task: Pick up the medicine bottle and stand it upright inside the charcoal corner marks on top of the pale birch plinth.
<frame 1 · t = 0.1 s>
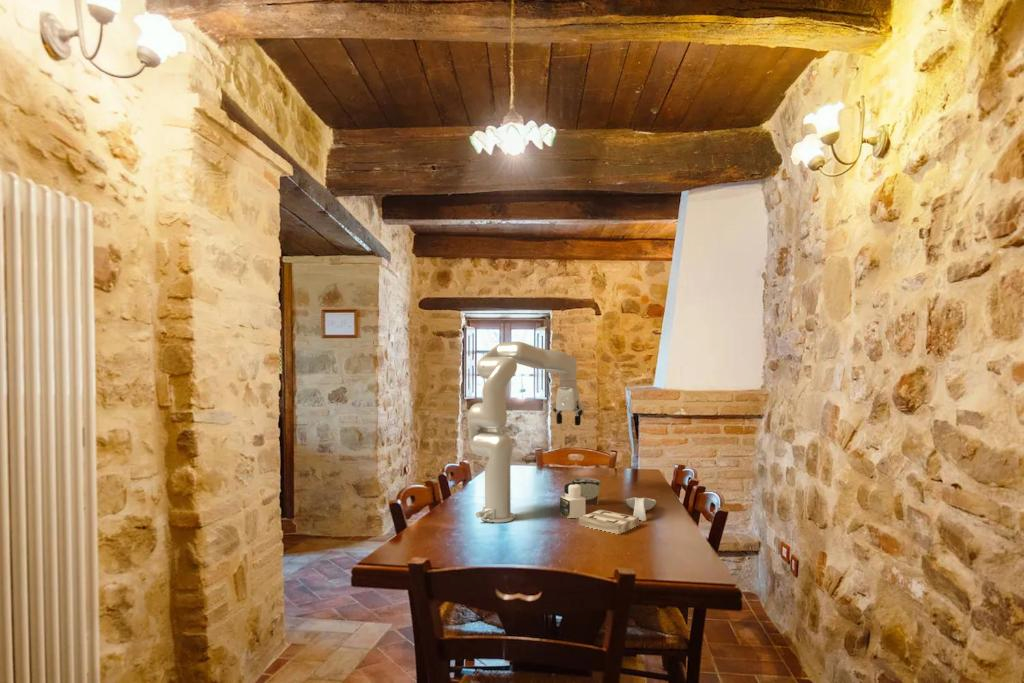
hand: (568, 424, 238), 31 cm above the table, tool pointing down, fingers open, 9 cm apart
medicine bottle: (572, 516, 206), on the table
birch plinth: (609, 525, 193), on the table
spoon rest: (640, 514, 210), on the table
food container: (585, 504, 225), on the table
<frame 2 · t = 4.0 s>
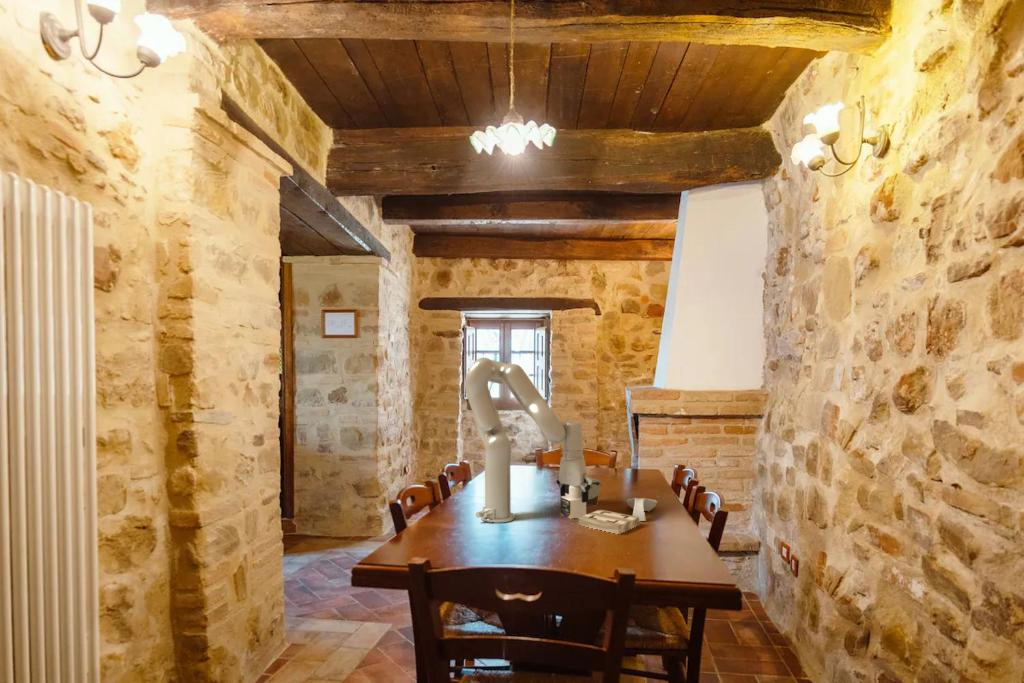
hand: (574, 499, 206), 6 cm above the table, tool pointing down, fingers open, 9 cm apart
medicine bottle: (573, 516, 206), on the table, touching gripper
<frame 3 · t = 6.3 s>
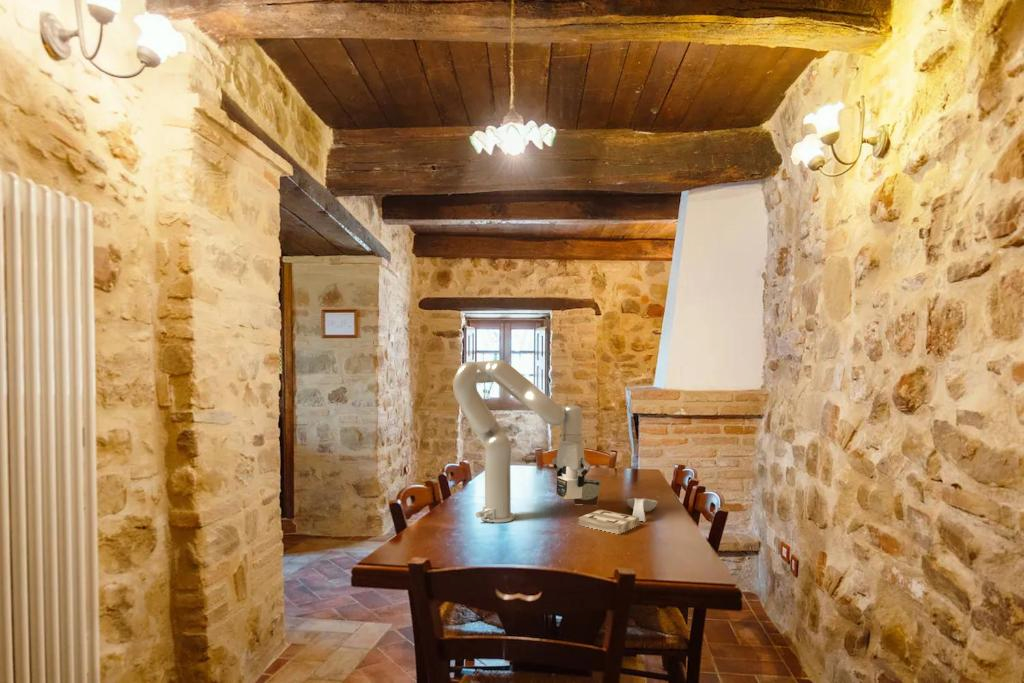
hand: (570, 484, 207), 12 cm above the table, tool pointing down, fingers closed on medicine bottle, 9 cm apart
medicine bottle: (568, 497, 206), point 7 cm above the table, touching gripper
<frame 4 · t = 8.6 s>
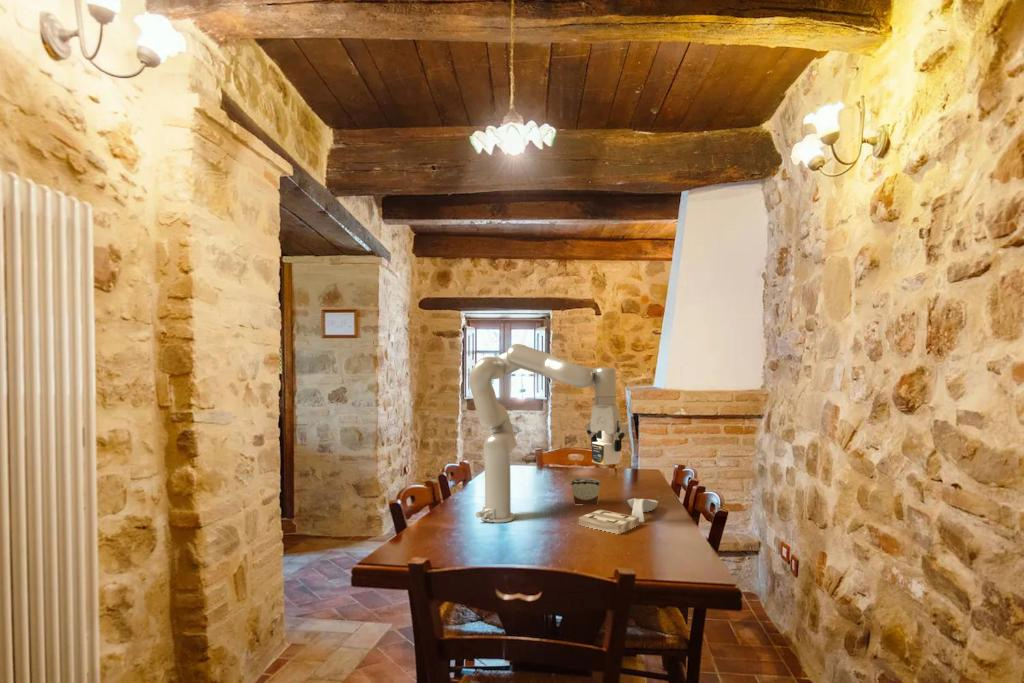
hand: (606, 449, 195), 26 cm above the table, tool pointing down, fingers closed on medicine bottle, 9 cm apart
medicine bottle: (605, 463, 195), point 22 cm above the table, touching gripper
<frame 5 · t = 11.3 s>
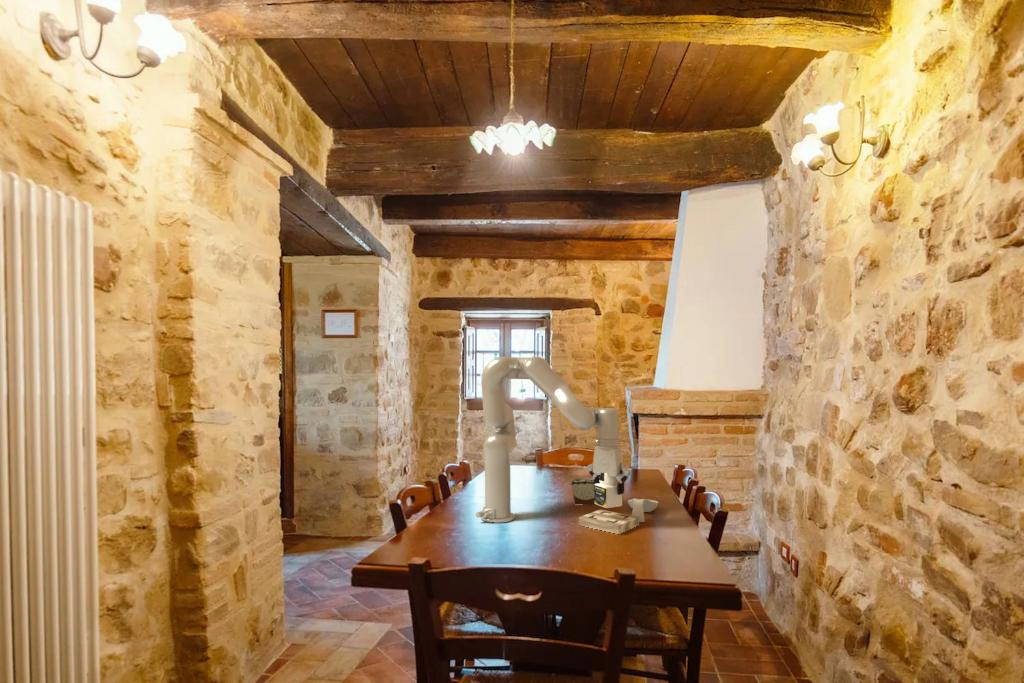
hand: (608, 491, 194), 12 cm above the table, tool pointing down, fingers closed on medicine bottle, 9 cm apart
medicine bottle: (608, 505, 194), point 7 cm above the table, touching gripper
when the fingers open (9 cm above the table, at t = 12.8 s): medicine bottle stays where it is, resting on birch plinth.
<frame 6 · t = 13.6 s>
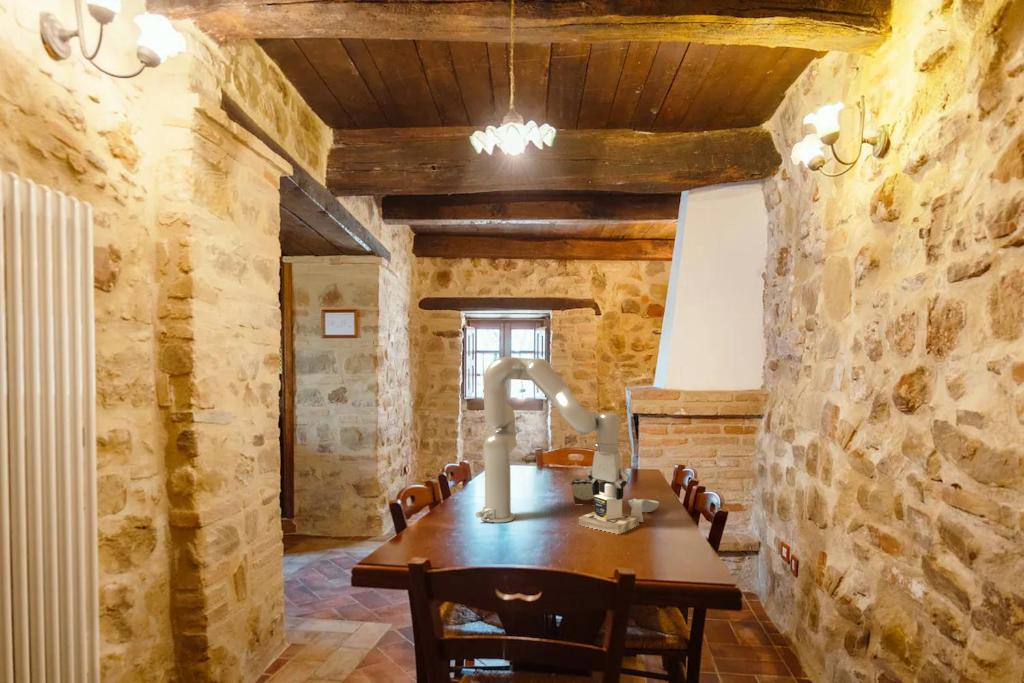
hand: (607, 496, 194), 10 cm above the table, tool pointing down, fingers open, 9 cm apart
medicine bottle: (608, 517, 193), point 3 cm above the table, touching birch plinth, gripper
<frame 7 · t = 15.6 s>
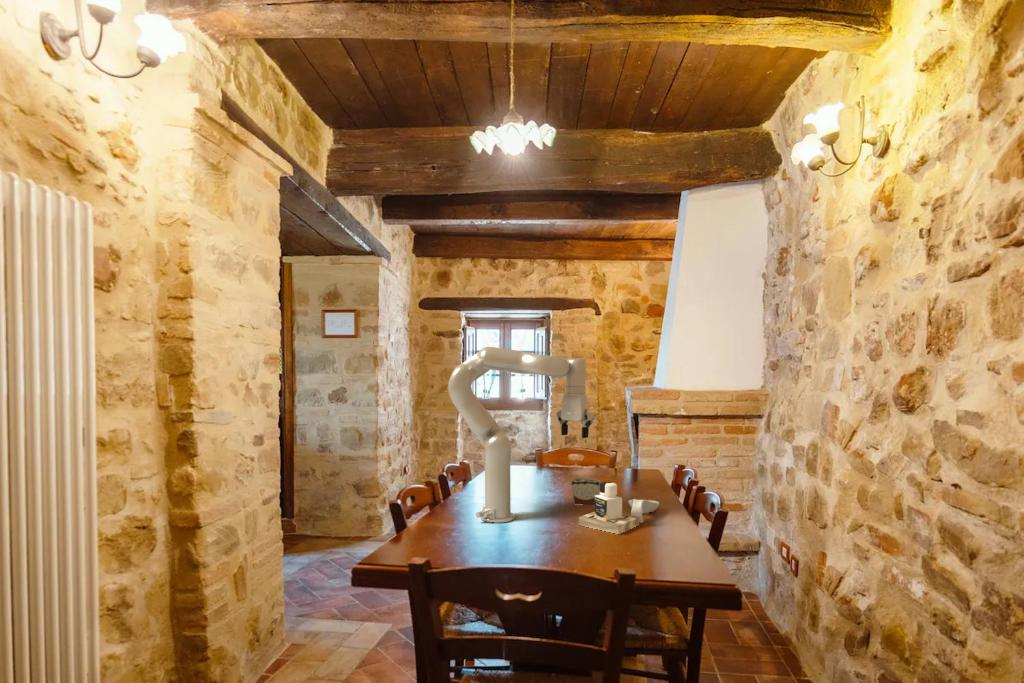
hand: (574, 436, 207), 30 cm above the table, tool pointing down, fingers open, 9 cm apart
medicine bottle: (608, 517, 193), point 3 cm above the table, touching birch plinth
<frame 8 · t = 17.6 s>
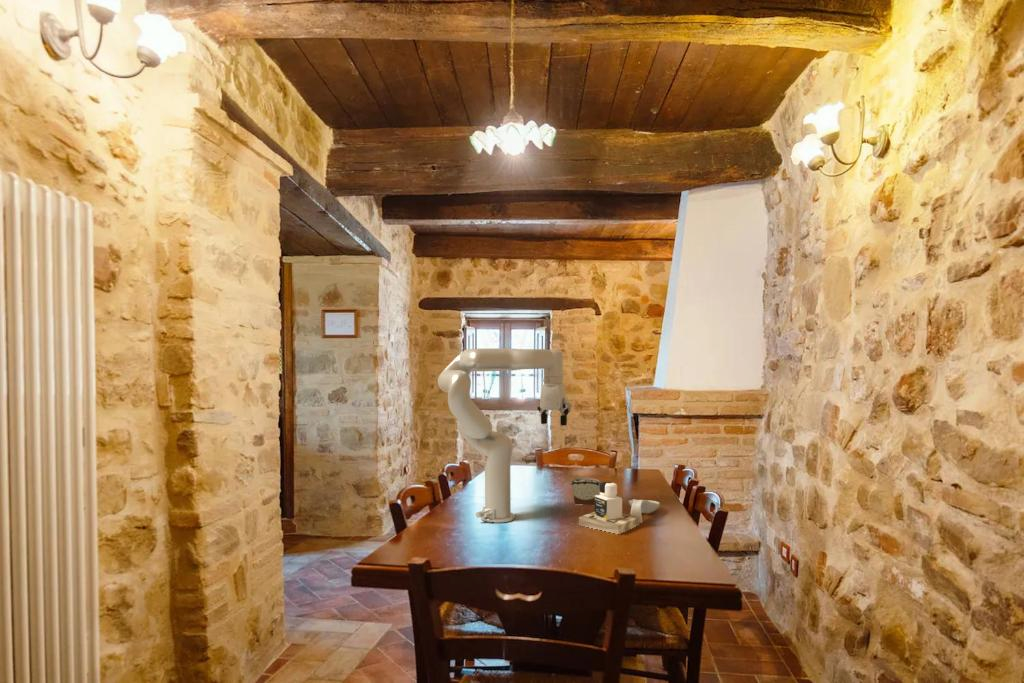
hand: (553, 424, 217), 33 cm above the table, tool pointing down, fingers open, 9 cm apart
at the end: medicine bottle 0.4 cm off-centre on the birch plinth, point 2.9 cm above the birch plinth's base; medicine bottle tilted 2°; the gripper is holding nothing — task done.
